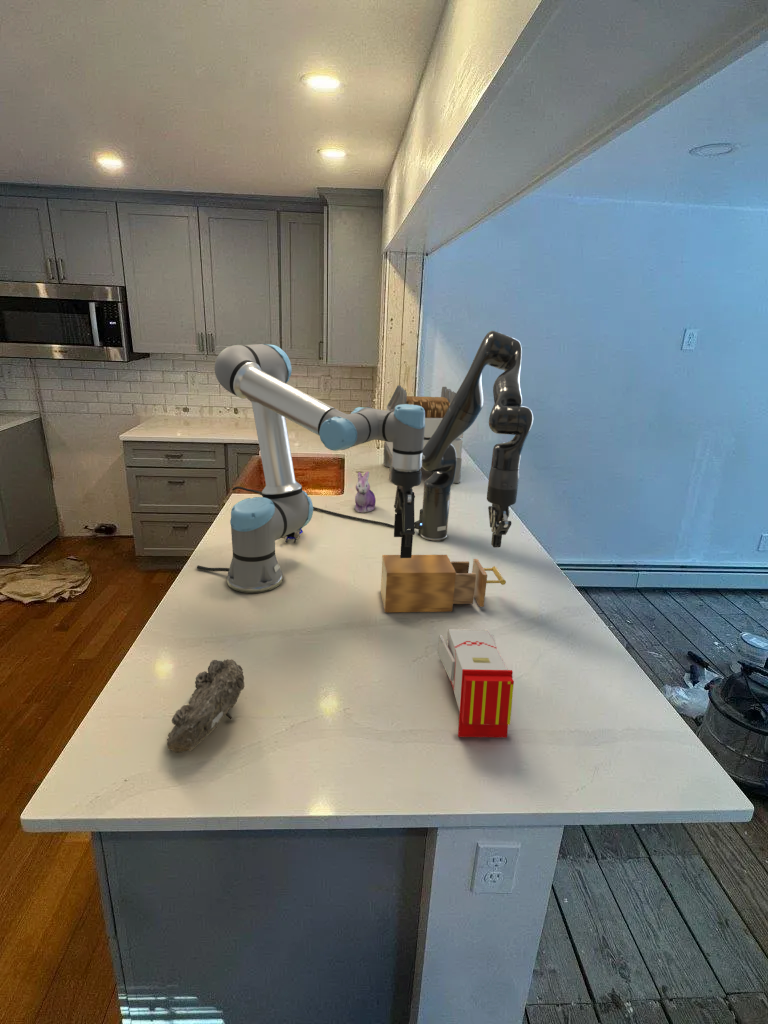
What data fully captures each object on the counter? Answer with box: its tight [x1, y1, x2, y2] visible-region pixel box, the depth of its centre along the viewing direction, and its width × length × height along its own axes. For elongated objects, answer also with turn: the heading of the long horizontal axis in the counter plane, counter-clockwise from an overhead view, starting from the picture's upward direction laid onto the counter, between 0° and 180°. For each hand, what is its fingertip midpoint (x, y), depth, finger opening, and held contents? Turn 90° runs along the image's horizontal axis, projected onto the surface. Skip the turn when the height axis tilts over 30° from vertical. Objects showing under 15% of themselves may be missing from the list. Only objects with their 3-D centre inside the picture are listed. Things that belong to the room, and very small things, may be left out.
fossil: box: [166, 658, 245, 754], centre depth 106 cm, size 22×10×15 cm
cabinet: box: [380, 554, 456, 613], centre depth 152 cm, size 18×11×12 cm, turn 96°
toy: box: [437, 628, 515, 738], centre depth 117 cm, size 12×13×30 cm
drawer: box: [450, 558, 507, 608], centre depth 154 cm, size 22×10×9 cm, turn 96°
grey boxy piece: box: [383, 384, 464, 484], centre depth 268 cm, size 34×33×41 cm
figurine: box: [354, 470, 376, 513], centre depth 220 cm, size 9×10×15 cm
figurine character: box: [281, 528, 304, 544], centre depth 192 cm, size 7×8×15 cm
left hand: (402, 546), depth 148 cm, fingers open, 13 cm apart
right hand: (495, 546), depth 151 cm, fingers closed
